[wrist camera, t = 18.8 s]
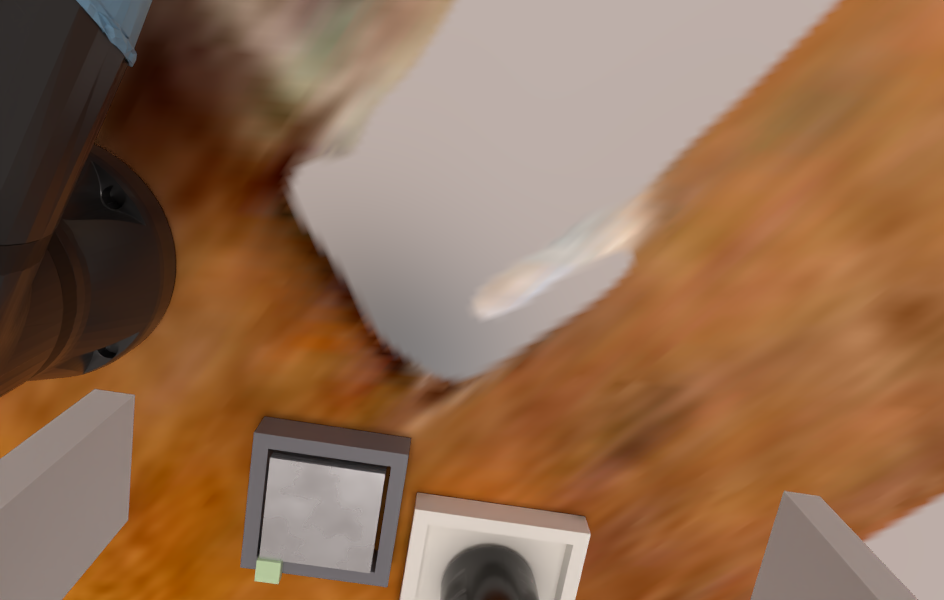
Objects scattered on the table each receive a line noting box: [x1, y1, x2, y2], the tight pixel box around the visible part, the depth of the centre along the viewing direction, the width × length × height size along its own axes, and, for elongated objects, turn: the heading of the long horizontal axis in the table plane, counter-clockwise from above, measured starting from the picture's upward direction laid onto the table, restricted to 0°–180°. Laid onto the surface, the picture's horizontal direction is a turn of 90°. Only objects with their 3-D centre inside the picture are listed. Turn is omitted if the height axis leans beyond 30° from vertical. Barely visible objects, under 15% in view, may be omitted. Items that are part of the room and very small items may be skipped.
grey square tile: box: [259, 450, 387, 573], centre depth 47 cm, size 7×7×1 cm
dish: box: [399, 492, 591, 600], centre depth 50 cm, size 12×12×2 cm
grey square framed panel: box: [240, 416, 411, 587], centre depth 48 cm, size 10×10×3 cm
